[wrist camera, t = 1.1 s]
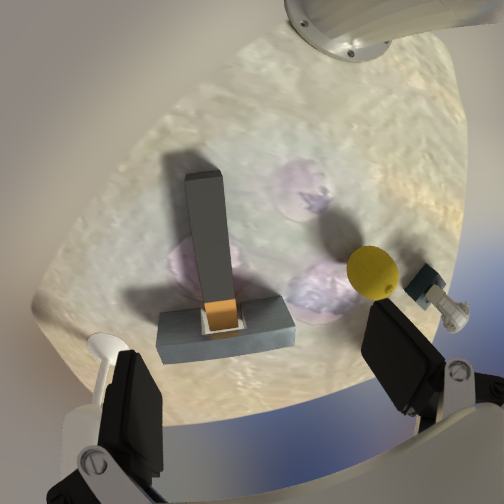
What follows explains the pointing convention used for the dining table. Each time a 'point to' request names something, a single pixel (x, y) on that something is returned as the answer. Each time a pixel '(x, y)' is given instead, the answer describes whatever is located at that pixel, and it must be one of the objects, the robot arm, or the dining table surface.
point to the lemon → (372, 272)
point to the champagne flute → (88, 405)
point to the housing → (225, 333)
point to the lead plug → (212, 247)
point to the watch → (438, 299)
